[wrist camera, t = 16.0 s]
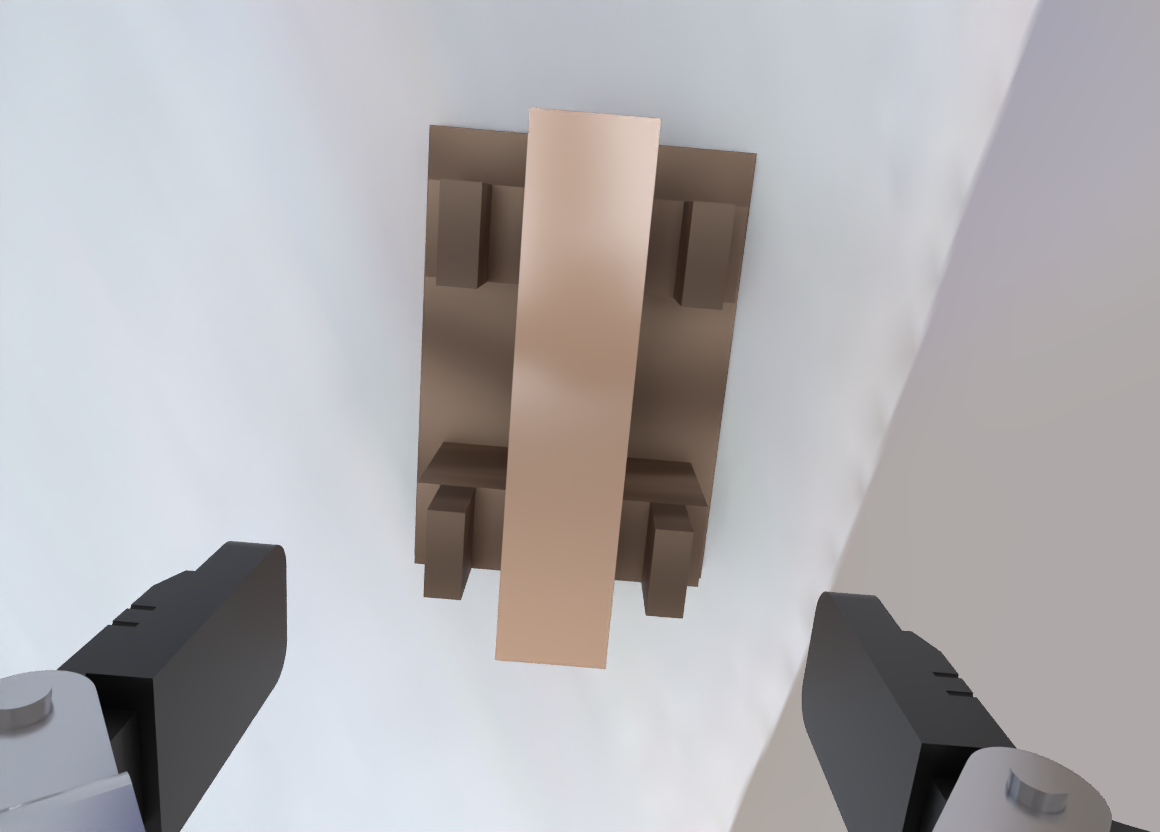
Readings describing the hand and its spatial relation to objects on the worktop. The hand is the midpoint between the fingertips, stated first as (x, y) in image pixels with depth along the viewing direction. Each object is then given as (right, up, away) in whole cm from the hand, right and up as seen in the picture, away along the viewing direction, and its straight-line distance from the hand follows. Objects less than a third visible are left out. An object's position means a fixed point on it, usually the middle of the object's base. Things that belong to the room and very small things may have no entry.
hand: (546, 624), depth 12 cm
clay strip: (0, +4, +15) cm, 15 cm away
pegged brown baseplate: (0, +5, +21) cm, 21 cm away
